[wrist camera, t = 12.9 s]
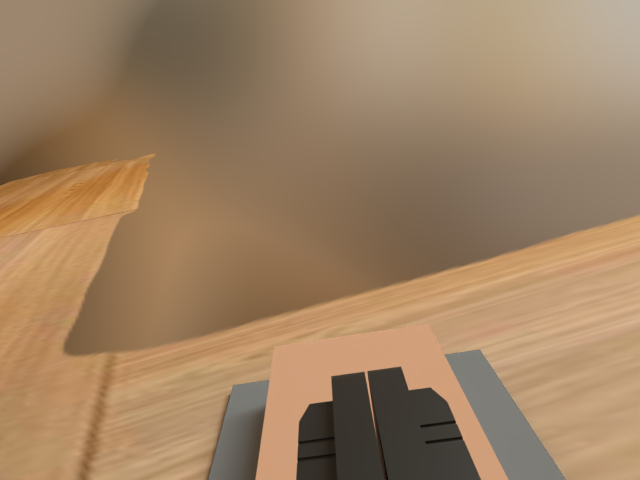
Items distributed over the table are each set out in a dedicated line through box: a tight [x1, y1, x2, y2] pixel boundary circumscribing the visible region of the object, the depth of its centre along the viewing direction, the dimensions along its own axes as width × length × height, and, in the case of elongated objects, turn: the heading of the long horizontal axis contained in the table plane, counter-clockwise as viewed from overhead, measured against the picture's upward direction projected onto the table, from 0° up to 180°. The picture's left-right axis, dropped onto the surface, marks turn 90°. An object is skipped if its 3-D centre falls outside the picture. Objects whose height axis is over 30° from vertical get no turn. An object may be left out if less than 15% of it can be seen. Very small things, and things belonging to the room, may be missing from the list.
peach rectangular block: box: [256, 324, 508, 480], centre depth 21 cm, size 9×4×15 cm
